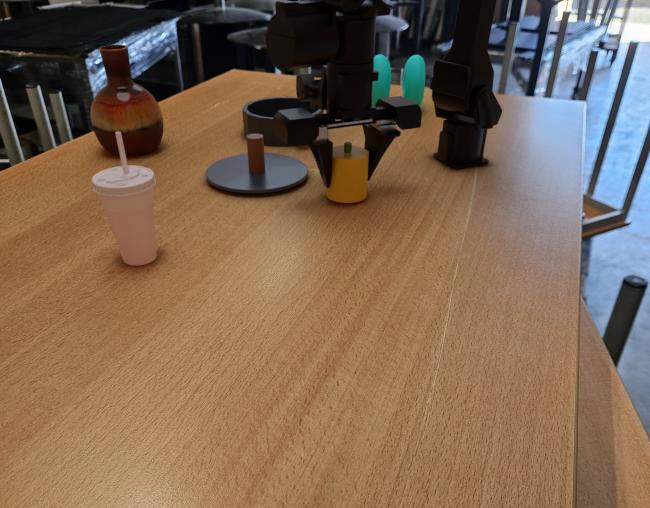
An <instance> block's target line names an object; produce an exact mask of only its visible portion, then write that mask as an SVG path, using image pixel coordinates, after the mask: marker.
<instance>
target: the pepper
mask: <svg viewBox="0 0 650 508" xmlns="http://www.w3.org/2000/svg"><path fill="white" fill-rule="evenodd" d="M368 161H369V152H368V150H366V149H365V148H364V147H362V146H358V145H353V143H352V142H351V141H345V142H344V143H343V145H342V144H341V145H335V146H333V156H332V178H331V184H330V188H326V187H325V196H326V198H327V199H329V200H331V201H332V202H335V203H341V204H353V203H354V204H355V203H359V202H361V201H364V200H365V199H366V198H367V197H368V196H367V195H368V182H369V181H368Z"/></svg>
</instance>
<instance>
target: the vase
mask: <svg viewBox="0 0 650 508" xmlns="http://www.w3.org/2000/svg"><path fill="white" fill-rule="evenodd" d="M98 50H99V54H100V57H101V60H102V65H103V68H104V72H105V77H106V85H104V86H103V87H102V88H101V89H99V90H98V92H97V93H96V94H95V96H94V98H93V100H92V101H91V106H90V112H89V113H90V117H89V118H90V122H91V127H92V130H93V133H94V134H95V137H96V139H97V141H98V142H99V144H100V145H101V146H102V148H103V149H104V150H105V151H107V152H108V153H109V154H111V155H114V156H118V157H120V153H119V149H118V144H117V139H116V134H115V132H121V135H122V140H123V145H124V150H125V155H126V157H139V156H142V155H147V154H150V153H152V152H154V151H156V150H157V149H158V148H159V146H160V144H161V142H162V139H163V136H164V135H163V134H164V116H163V112H162V109H161V106H160V104H159V102H158V101H157V99H156V98H155V96H153V94H152V93H151V92H150V91H149V90H147V89H146V88H145V87H143V86H142V85H140V84H138V83H136V82H134V80H133V76H132V69H131V62H130V53H129V47H128V46H127V45H125V44H108V45H102V46H100V47H99V48H98Z"/></svg>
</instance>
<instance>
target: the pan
mask: <svg viewBox="0 0 650 508" xmlns="http://www.w3.org/2000/svg"><path fill="white" fill-rule="evenodd" d="M294 108H304V109H305V110H307V111H308V112H310V113H311V114H313V115H318V114H325V113H324V112H325V110H321V109H319V108H311V104H310V101H302V102H299V101H298V99H297V96H274V97H273V96H272V97H262V98H258V99H255V100H252V101H251V100H250V101H249V102H247V103H245V104H244V105H243V107H242V109H241V112H242V125H243V126H242V127H243V133H244V136H245V138H246V136H247V135H249V134H261V135H263V140H264V146H269V147H271V146H272V147H293V146H296V145H288V144H287V143H285V142H284V141H283V140H282V139H281V138H280V137H278V136H277V135H276V134H275V133H274V131H273V118H274V116H275V114H276V112H277V111H278V110H286V109H294ZM302 145H303V144H299V145H298V146H302Z"/></svg>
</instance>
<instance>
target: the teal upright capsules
mask: <svg viewBox="0 0 650 508" xmlns="http://www.w3.org/2000/svg"><path fill="white" fill-rule="evenodd" d="M424 59H425V58H424V57H422V55H420V54H413V55H412V56H410V57H409V58H408V59H407V60H406V62H405V65H404V68H403V75H402V84H401V85H402V86H401V87H402V88H401V89H402V93H401V94H402V97H404V98H406V99H408V100H410V101H412V102H415V103H417V104H418V105H419V107H420V108H421V106H422V104H423V100H424V97H425V96H424V95H425V90H426V89H425V88H426V63H425V60H424ZM374 70H375V71H378V72H379V75H378V81H373V91H372V105H373V106H375V104H376V102H377V101H378V99H380V98H388V97H390V95H391V86H392V67H391V62H390V61H389V59H388V57H386V56H385V55H384V54H379V53H378V54H376V55H374Z"/></svg>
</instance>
